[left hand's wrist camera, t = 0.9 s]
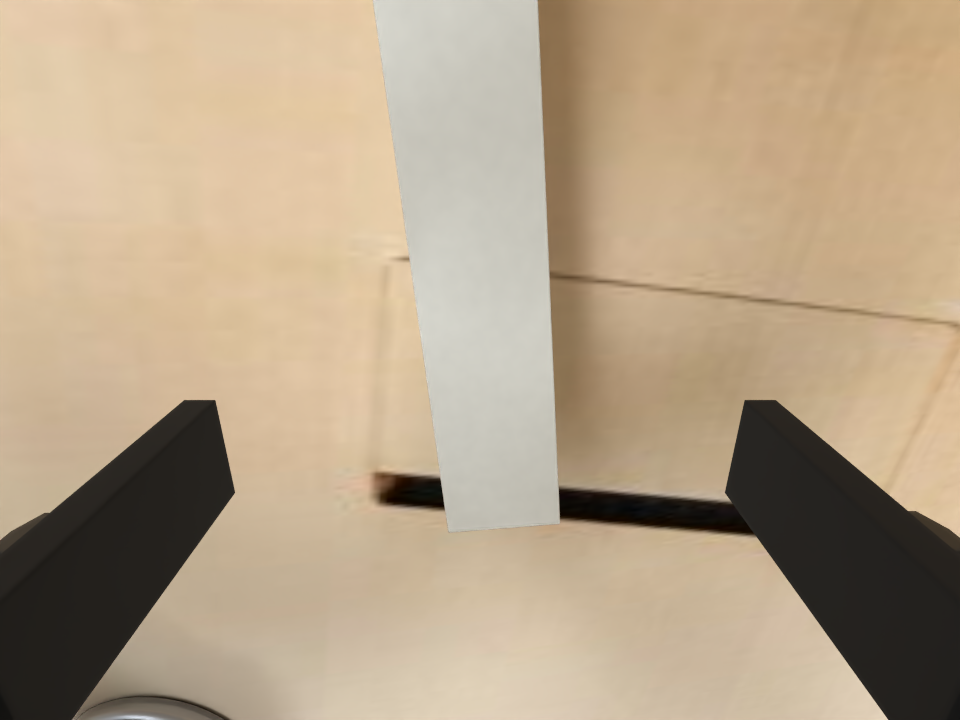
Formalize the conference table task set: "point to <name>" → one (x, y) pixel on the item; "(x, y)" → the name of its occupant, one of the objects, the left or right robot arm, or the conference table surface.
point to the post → (477, 247)
